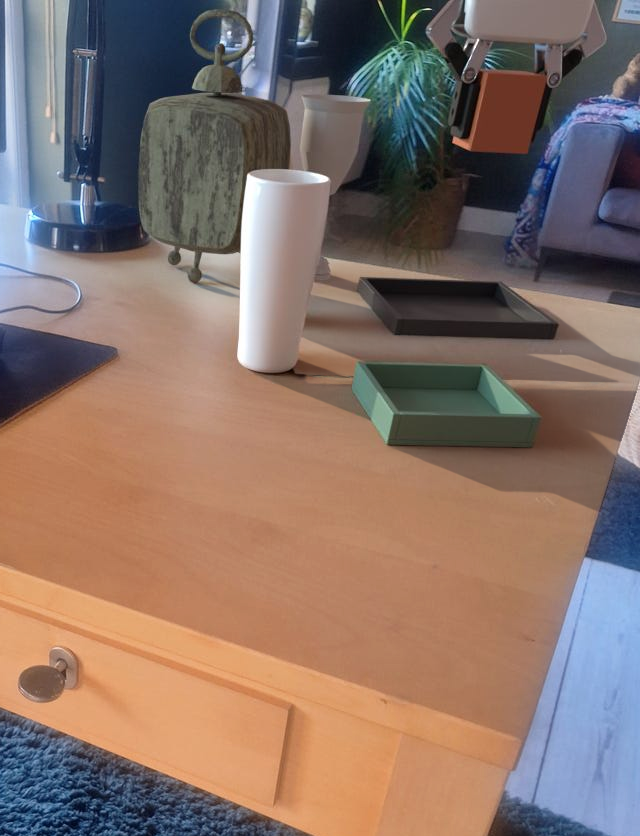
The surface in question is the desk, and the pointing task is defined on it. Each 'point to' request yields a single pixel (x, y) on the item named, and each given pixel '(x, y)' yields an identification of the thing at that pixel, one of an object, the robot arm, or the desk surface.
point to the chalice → (330, 142)
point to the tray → (443, 405)
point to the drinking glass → (278, 263)
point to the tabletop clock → (207, 156)
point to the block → (504, 111)
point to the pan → (454, 309)
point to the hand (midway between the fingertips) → (491, 136)
